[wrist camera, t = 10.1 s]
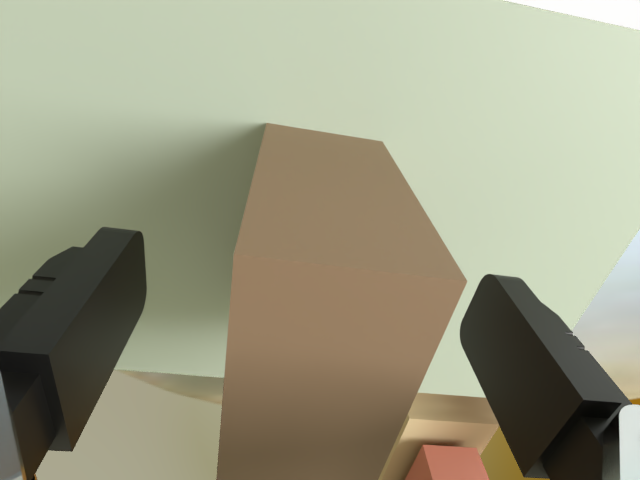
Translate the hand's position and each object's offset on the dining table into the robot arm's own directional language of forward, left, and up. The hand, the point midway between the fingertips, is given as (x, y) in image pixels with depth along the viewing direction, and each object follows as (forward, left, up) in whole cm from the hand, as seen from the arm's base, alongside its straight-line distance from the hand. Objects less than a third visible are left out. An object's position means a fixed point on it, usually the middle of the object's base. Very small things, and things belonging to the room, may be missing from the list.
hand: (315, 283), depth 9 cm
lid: (0, 0, -4) cm, 4 cm away
